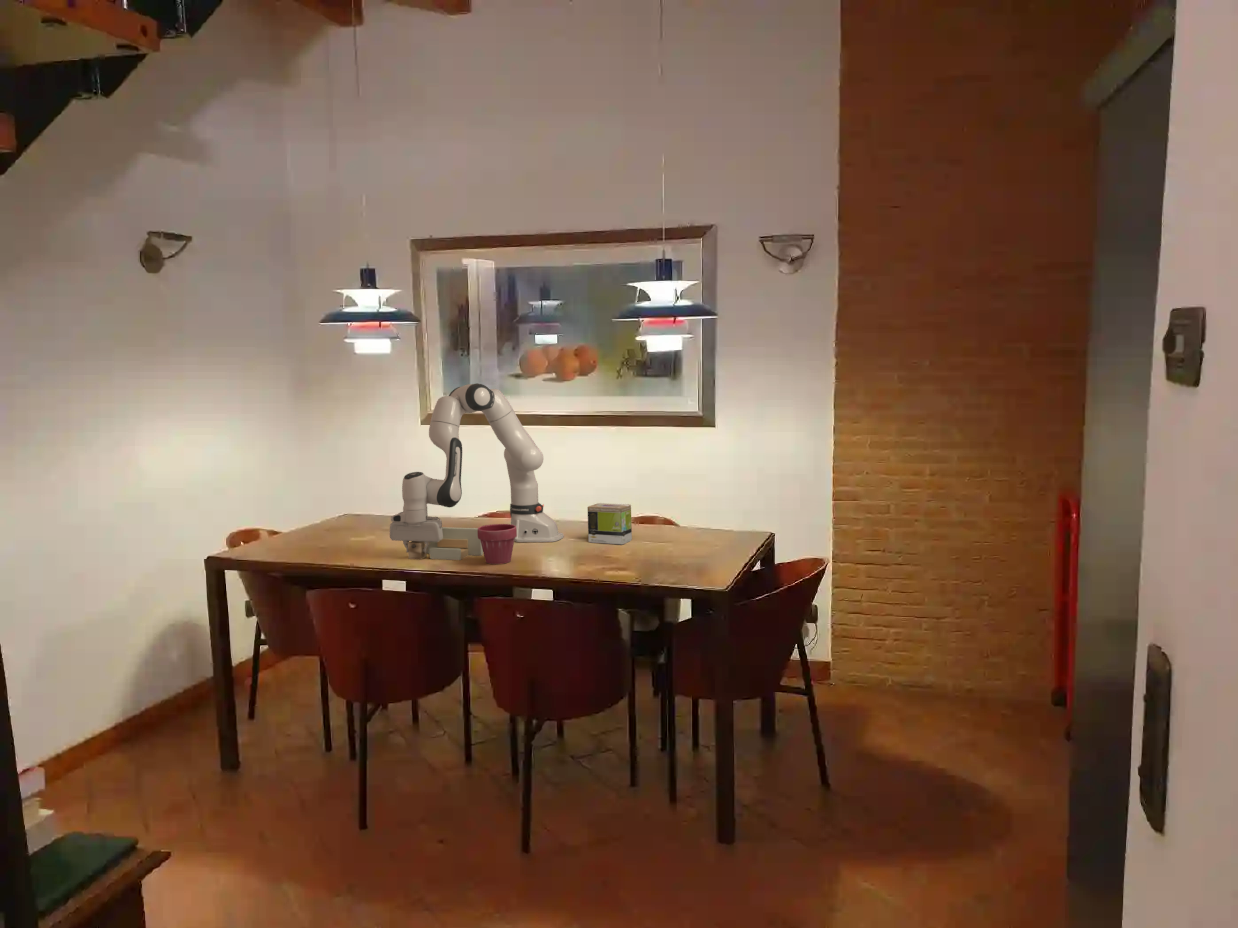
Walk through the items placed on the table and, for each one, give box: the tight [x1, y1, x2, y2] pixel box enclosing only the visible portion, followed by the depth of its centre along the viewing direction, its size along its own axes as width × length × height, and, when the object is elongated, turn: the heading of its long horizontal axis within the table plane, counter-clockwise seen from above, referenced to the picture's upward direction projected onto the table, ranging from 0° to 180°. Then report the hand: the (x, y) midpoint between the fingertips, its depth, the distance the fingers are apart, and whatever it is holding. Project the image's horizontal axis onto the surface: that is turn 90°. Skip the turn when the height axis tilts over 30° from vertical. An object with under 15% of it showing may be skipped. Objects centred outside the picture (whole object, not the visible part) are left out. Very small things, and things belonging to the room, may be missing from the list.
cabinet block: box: [407, 541, 427, 560], centre depth 347 cm, size 5×5×6 cm
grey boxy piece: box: [426, 526, 484, 561], centre depth 348 cm, size 22×10×10 cm, turn 77°
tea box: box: [587, 502, 633, 545], centre depth 369 cm, size 15×10×15 cm, turn 65°
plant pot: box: [477, 523, 517, 565], centre depth 338 cm, size 14×14×13 cm
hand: (417, 552), depth 347 cm, fingers closed on cabinet block, 5 cm apart
